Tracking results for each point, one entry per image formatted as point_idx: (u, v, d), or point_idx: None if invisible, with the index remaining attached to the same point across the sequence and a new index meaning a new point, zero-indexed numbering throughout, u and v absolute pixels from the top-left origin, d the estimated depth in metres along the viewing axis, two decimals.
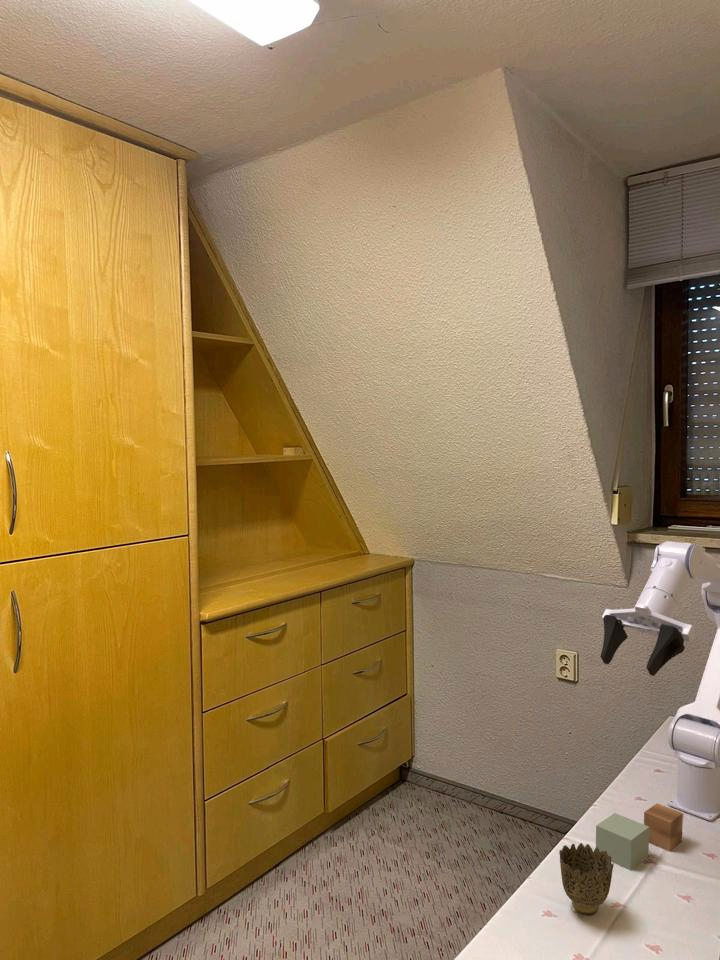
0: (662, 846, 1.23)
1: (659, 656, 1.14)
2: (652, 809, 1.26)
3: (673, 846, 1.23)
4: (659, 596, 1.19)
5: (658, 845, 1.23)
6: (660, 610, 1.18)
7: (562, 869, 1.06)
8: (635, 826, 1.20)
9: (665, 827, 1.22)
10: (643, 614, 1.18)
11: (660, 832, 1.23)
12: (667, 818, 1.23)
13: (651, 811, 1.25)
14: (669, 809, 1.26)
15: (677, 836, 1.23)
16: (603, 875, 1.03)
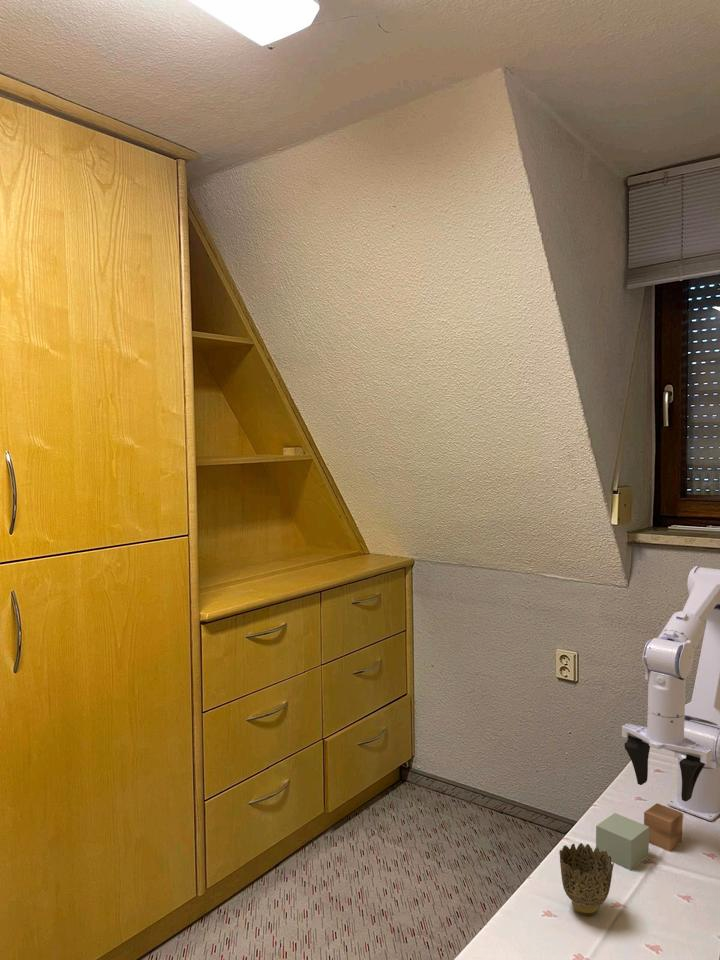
0: (662, 846, 1.23)
1: (689, 784, 1.21)
2: (652, 809, 1.26)
3: (673, 846, 1.23)
4: (666, 724, 1.21)
5: (658, 845, 1.23)
6: (672, 738, 1.21)
7: (562, 869, 1.06)
8: (635, 826, 1.20)
9: (665, 827, 1.22)
10: None
11: (660, 832, 1.23)
12: (667, 818, 1.23)
13: (651, 811, 1.25)
14: (669, 809, 1.26)
15: (677, 836, 1.23)
16: (603, 875, 1.03)
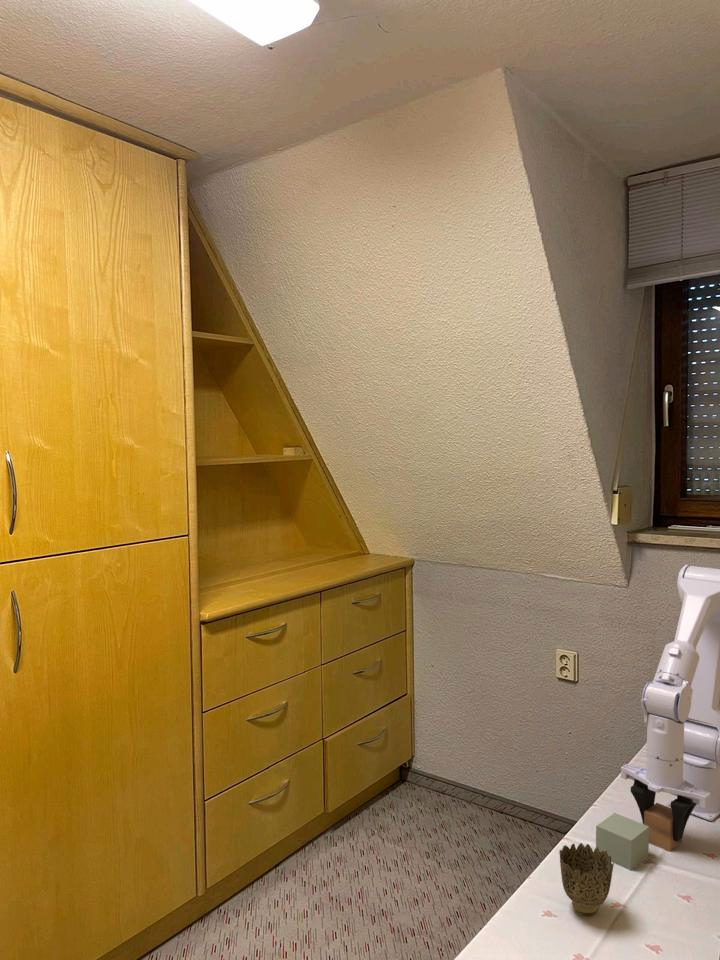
0: (662, 845, 1.23)
1: (680, 824, 1.22)
2: (652, 808, 1.26)
3: (673, 845, 1.23)
4: (665, 768, 1.21)
5: (658, 844, 1.23)
6: (671, 781, 1.21)
7: (562, 869, 1.06)
8: (635, 826, 1.20)
9: (665, 827, 1.22)
10: None
11: (660, 831, 1.23)
12: (667, 818, 1.23)
13: (651, 810, 1.25)
14: (669, 808, 1.26)
15: None
16: (603, 875, 1.03)
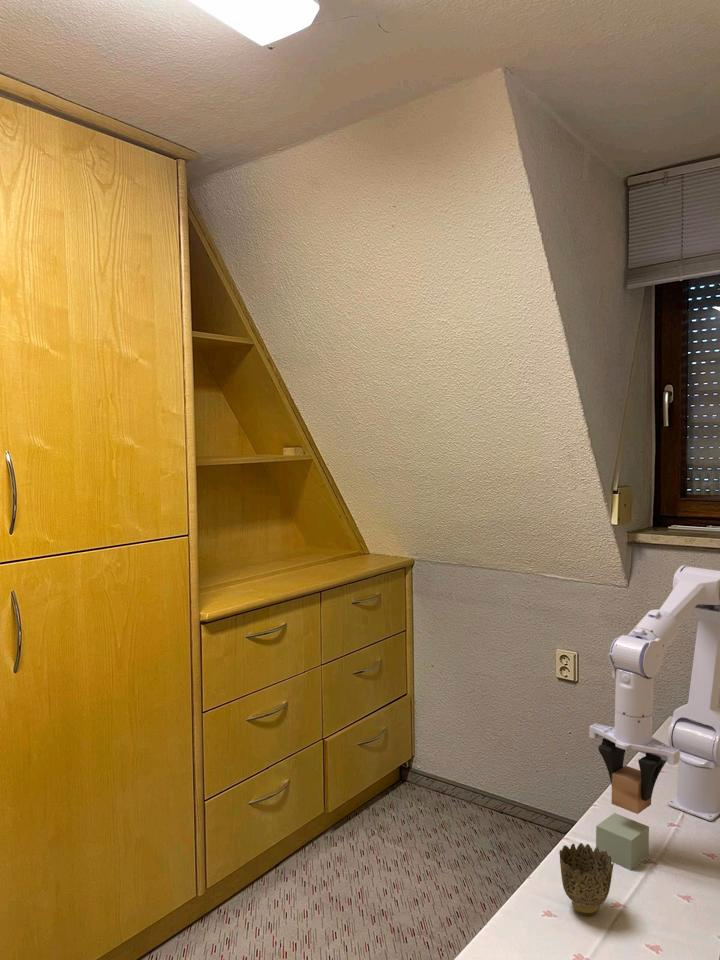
0: (630, 808, 1.19)
1: (648, 783, 1.18)
2: (620, 771, 1.22)
3: (641, 808, 1.19)
4: (633, 724, 1.17)
5: (626, 807, 1.19)
6: (639, 738, 1.17)
7: (562, 869, 1.06)
8: (635, 826, 1.20)
9: (633, 789, 1.18)
10: None
11: (627, 794, 1.19)
12: (635, 780, 1.19)
13: (619, 773, 1.21)
14: (638, 771, 1.22)
15: None
16: (603, 875, 1.03)
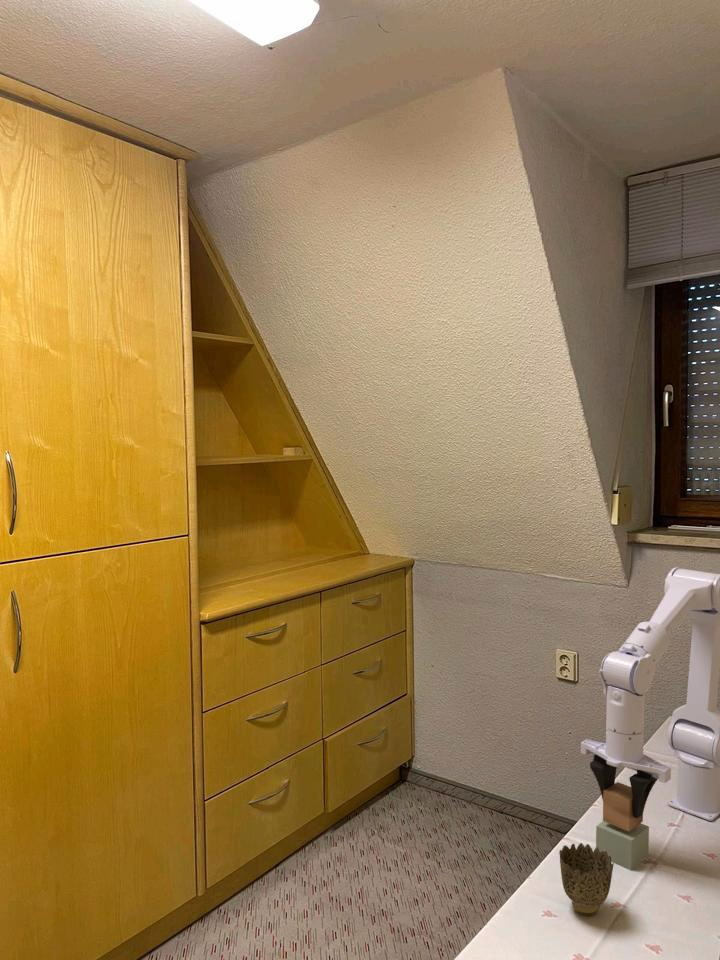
0: (621, 826, 1.18)
1: (640, 800, 1.17)
2: (612, 788, 1.21)
3: (633, 826, 1.18)
4: (624, 741, 1.17)
5: (617, 825, 1.18)
6: (630, 755, 1.17)
7: (562, 869, 1.06)
8: None
9: (624, 806, 1.17)
10: None
11: (619, 811, 1.18)
12: (626, 797, 1.18)
13: (611, 789, 1.20)
14: (629, 788, 1.21)
15: None
16: (603, 875, 1.03)
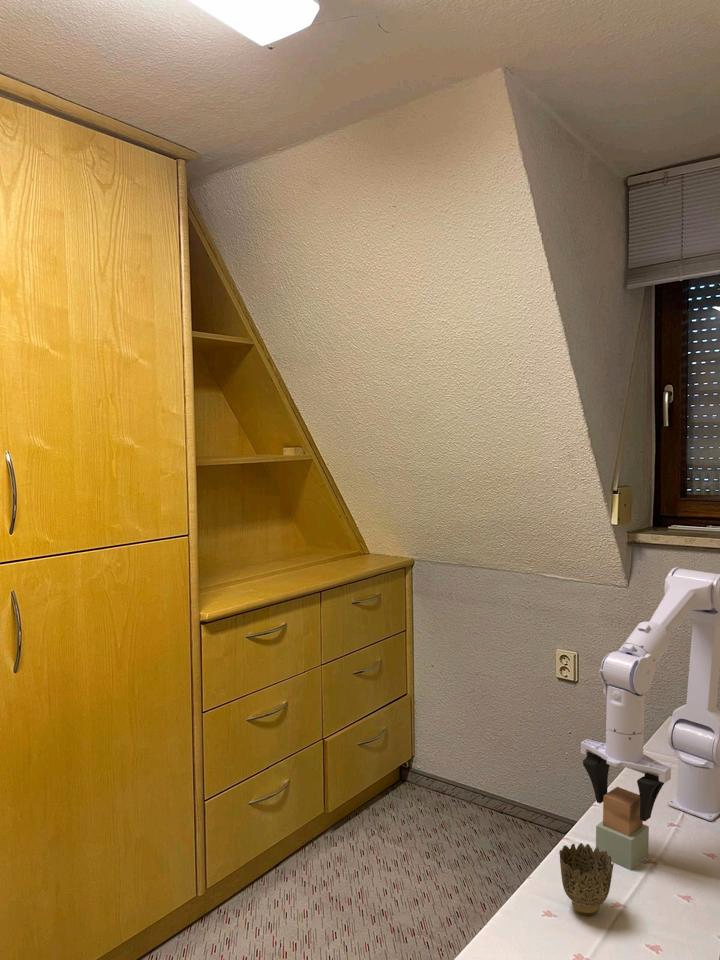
0: (621, 830, 1.18)
1: (647, 803, 1.17)
2: (612, 792, 1.21)
3: (633, 830, 1.18)
4: (624, 741, 1.17)
5: (617, 829, 1.19)
6: (630, 755, 1.17)
7: (562, 869, 1.06)
8: None
9: (624, 811, 1.18)
10: None
11: (619, 816, 1.18)
12: (626, 802, 1.18)
13: (611, 794, 1.21)
14: (629, 792, 1.21)
15: (637, 820, 1.19)
16: (603, 875, 1.03)
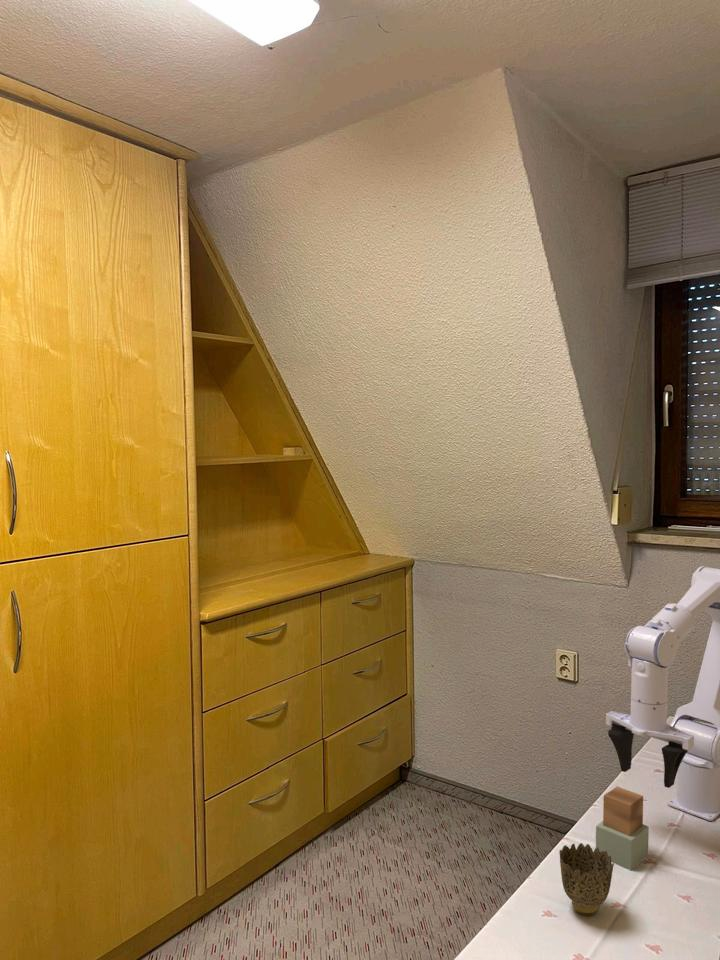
0: (622, 830, 1.18)
1: (671, 770, 1.22)
2: (612, 792, 1.21)
3: (633, 830, 1.18)
4: (648, 711, 1.22)
5: (618, 829, 1.19)
6: (654, 724, 1.22)
7: (562, 869, 1.06)
8: None
9: (625, 810, 1.18)
10: None
11: (619, 815, 1.18)
12: (626, 801, 1.18)
13: (611, 794, 1.21)
14: (629, 792, 1.21)
15: (637, 819, 1.19)
16: (603, 875, 1.03)
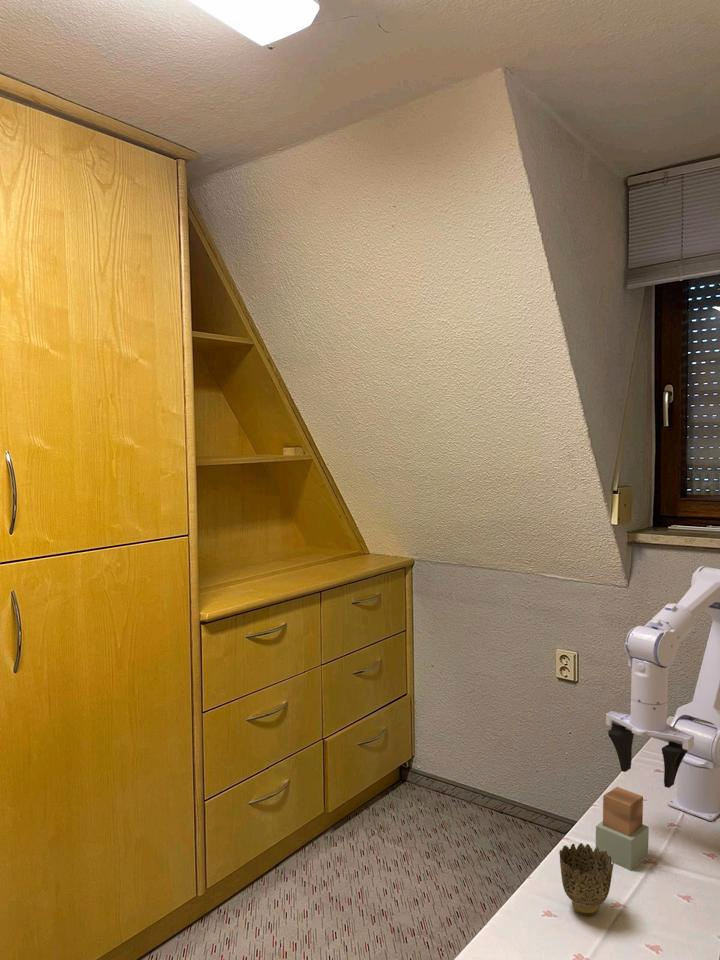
0: (621, 830, 1.18)
1: (671, 770, 1.22)
2: (612, 792, 1.21)
3: (633, 830, 1.18)
4: (648, 711, 1.22)
5: (617, 829, 1.19)
6: (654, 724, 1.22)
7: (562, 869, 1.06)
8: None
9: (624, 811, 1.18)
10: None
11: (619, 816, 1.18)
12: (626, 802, 1.18)
13: (611, 794, 1.21)
14: (629, 792, 1.21)
15: (637, 820, 1.19)
16: (603, 875, 1.03)
